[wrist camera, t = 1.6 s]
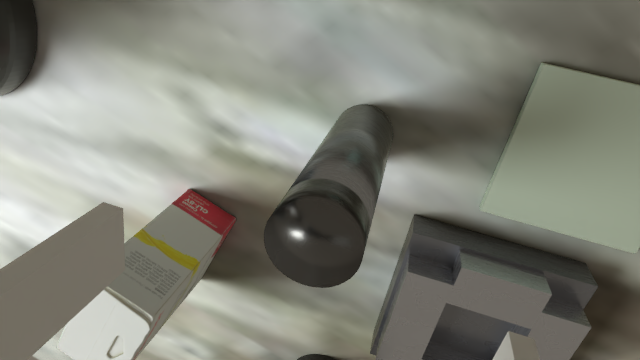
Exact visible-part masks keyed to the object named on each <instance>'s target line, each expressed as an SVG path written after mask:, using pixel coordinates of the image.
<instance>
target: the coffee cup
mask: <svg viewBox="0 0 640 360" xmlns="http://www.w3.org/2000/svg"><path fill="white" fill-rule="evenodd" d="M297 360H335V359H333V358H331V357H328V356H324V355H315V354H313V355H306V356H303V357H300V358H299V359H297Z"/></svg>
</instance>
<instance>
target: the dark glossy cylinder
mask: <svg viewBox="0 0 640 360" xmlns="http://www.w3.org/2000/svg"><path fill="white" fill-rule="evenodd" d="M392 139H393V128H392V124H391V122H390V120H389V118H388V117H387V116H386V114H385V113H384V112H382V111H381V110H380V109H378V108H376V107H373V106H370V105H356V106H353V107H351V108H349V109H347V110H346V111H344V112H343V113H342V114H341V116H340V117H339V118H338V120H337V121H336V123H335V124H334V126H333V127H332V128H331V130H330V131H329V133H328V134H327V136H326V137H325V139H324V140H323V141H322V143H321V144H320V146H319V147H318V149H317V150H316V152H315V153H314V154H313V156H312V157H311V159H310V160H309V162H308V163H307V165H306V166H305V167H304V169H303V170H302V172H301V173H300V175H299V176H298V178H297V179H296V181H295V182H294V183H293V185H292V186H291V188H290V189H289V191H288V192H287V194H286V195H285V196H284V198H283V199H282V201H281V202H280V204H279V205H278V207H277V208H276V209H275V211H274V212H273V214H272V215H271V217H270V218H269V220H268V222H267V224H266V227H265V231H264V243H265V248H266V250H267V253H268V255H269V257H270V259H271V261H272V262H273V264H274V265H275V266H276V267H277V268H278V269H279V270H280V271H281V272H282V273H283V274H284V275H286V276H287V277H289V278H290V279H292V280H294V281H296V282H298V283H301V284H303V285H307V286H311V287H321V288H323V287H332V286H336V285H339V284H341V283H344V282H345V281H347V280H349V279H350V278H351V277H352V276H353V275H354V274H355V273H356V272H357V270H358V269H359V267H360V264H361V262H362V258H363V254H364V250H365V246H366V242H367V238H368V234H369V230H370V227H371V223H372V219H373V215H374V211H375V207H376V203H377V199H378V195H379V191H380V187H381V183H382V179H383V175H384V171H385V167H386V163H387V159H388V155H389V151H390V147H391V143H392Z"/></svg>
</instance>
